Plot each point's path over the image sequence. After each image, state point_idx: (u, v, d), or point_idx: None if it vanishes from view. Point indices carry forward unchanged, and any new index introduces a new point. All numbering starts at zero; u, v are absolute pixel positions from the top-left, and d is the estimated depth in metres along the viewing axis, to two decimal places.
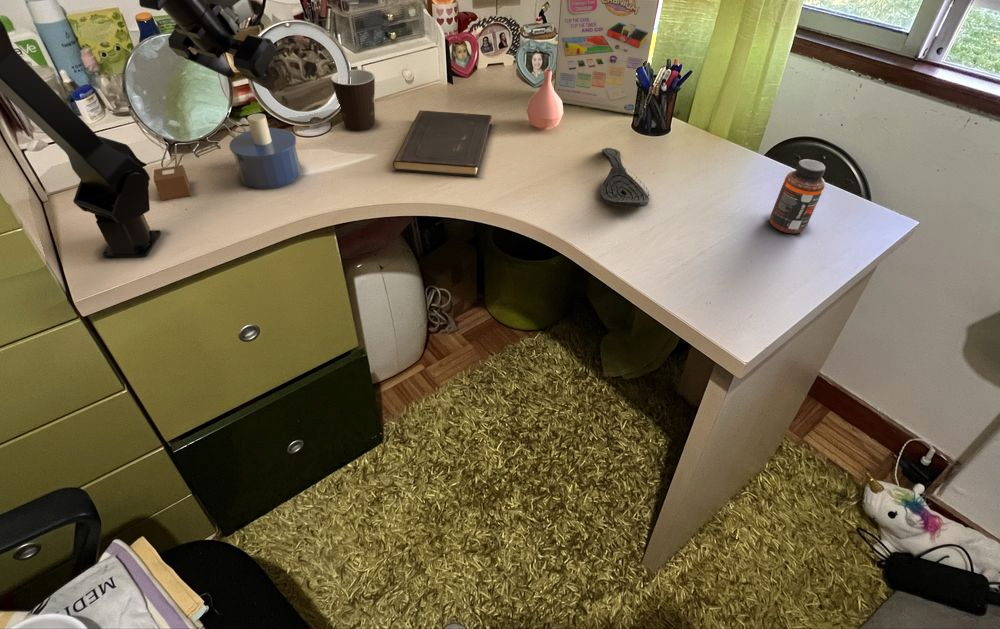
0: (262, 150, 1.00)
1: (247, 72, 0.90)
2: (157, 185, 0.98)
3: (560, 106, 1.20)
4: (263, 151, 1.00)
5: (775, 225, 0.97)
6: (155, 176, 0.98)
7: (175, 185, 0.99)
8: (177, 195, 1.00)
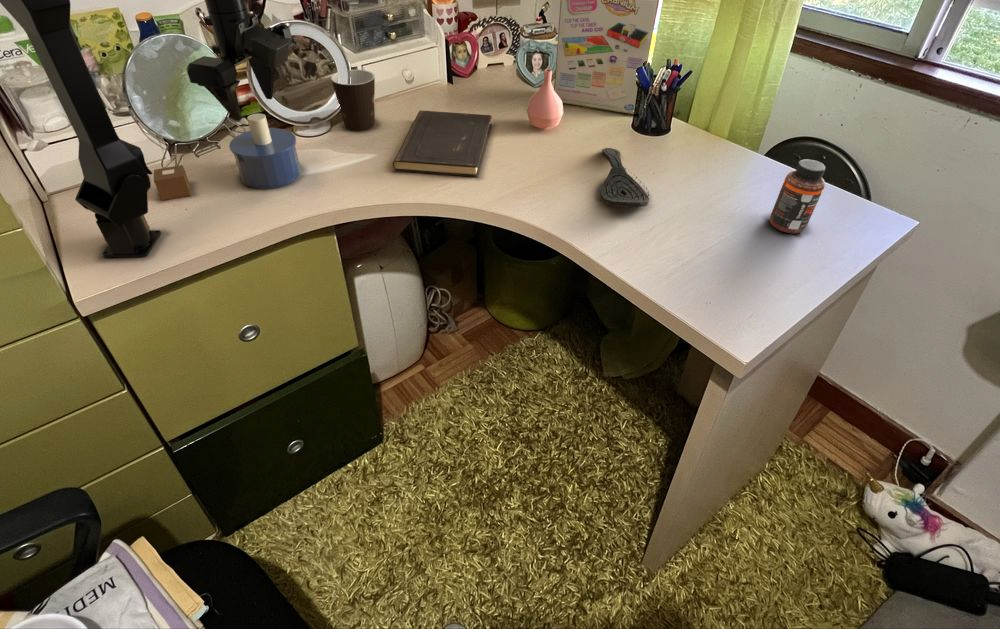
0: (262, 150, 1.00)
1: None
2: (157, 185, 0.98)
3: (560, 106, 1.20)
4: (263, 151, 1.00)
5: (775, 225, 0.97)
6: (155, 176, 0.98)
7: (175, 185, 0.99)
8: (177, 195, 1.00)
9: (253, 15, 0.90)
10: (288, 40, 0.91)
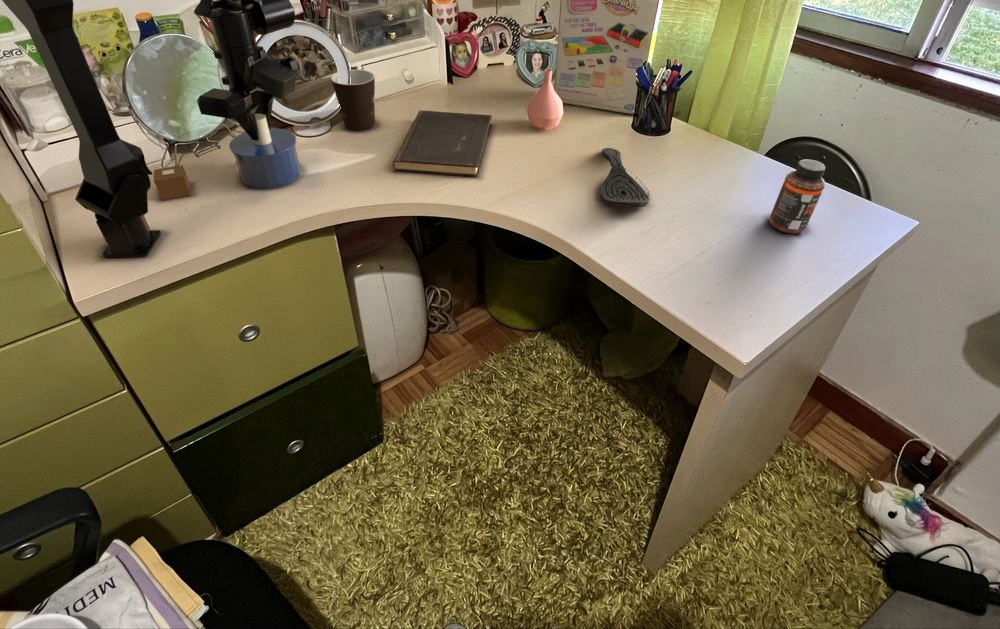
0: (262, 150, 1.00)
1: None
2: (157, 185, 0.98)
3: (560, 106, 1.20)
4: (263, 151, 1.00)
5: (775, 225, 0.97)
6: (155, 176, 0.98)
7: (175, 185, 0.99)
8: (177, 195, 1.00)
9: (261, 48, 0.93)
10: (295, 72, 0.94)
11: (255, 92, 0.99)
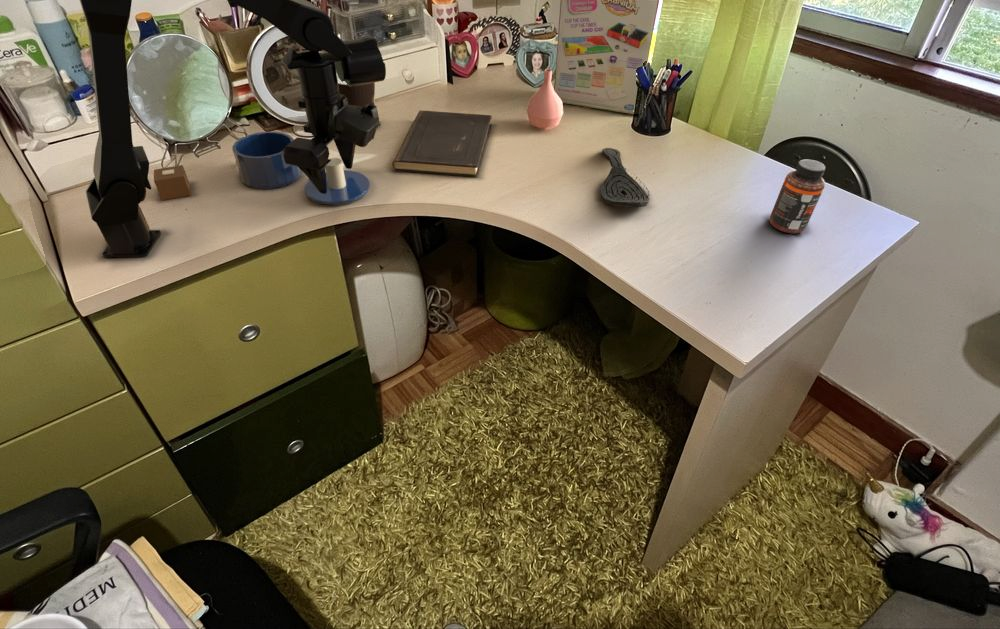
0: (338, 195, 1.00)
1: None
2: (157, 185, 0.98)
3: (560, 106, 1.20)
4: (340, 196, 1.00)
5: (775, 225, 0.97)
6: (155, 176, 0.98)
7: (175, 185, 0.99)
8: (177, 195, 1.00)
9: (344, 97, 0.93)
10: (376, 120, 0.94)
11: None
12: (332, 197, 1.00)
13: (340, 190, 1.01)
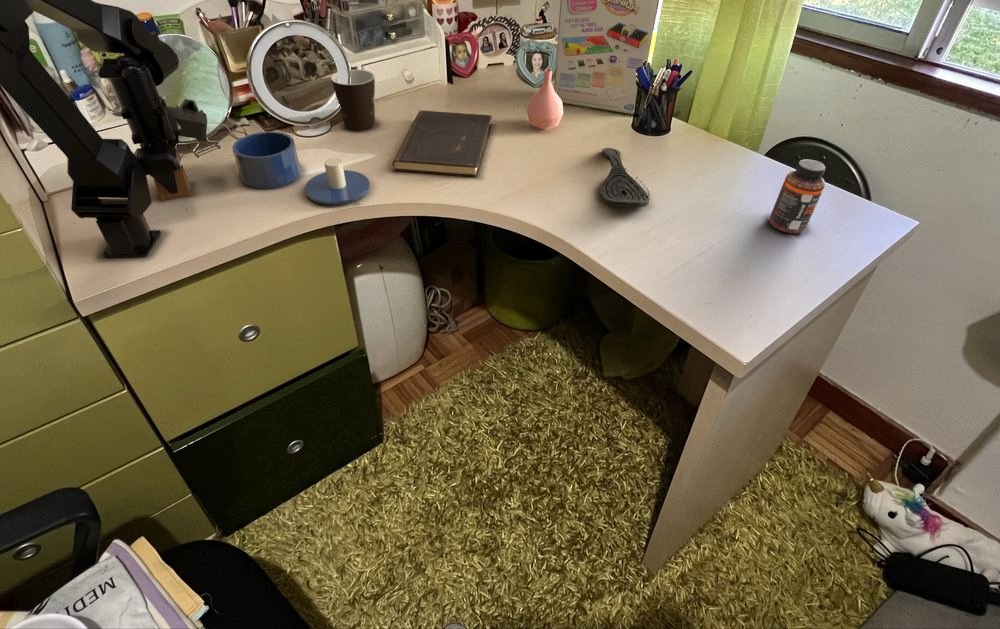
0: (338, 195, 1.00)
1: None
2: (157, 185, 0.98)
3: (560, 106, 1.20)
4: (340, 196, 1.00)
5: (775, 225, 0.97)
6: None
7: None
8: (177, 195, 1.00)
9: (161, 98, 0.93)
10: (203, 112, 0.97)
11: None
12: (332, 197, 1.00)
13: (340, 190, 1.01)
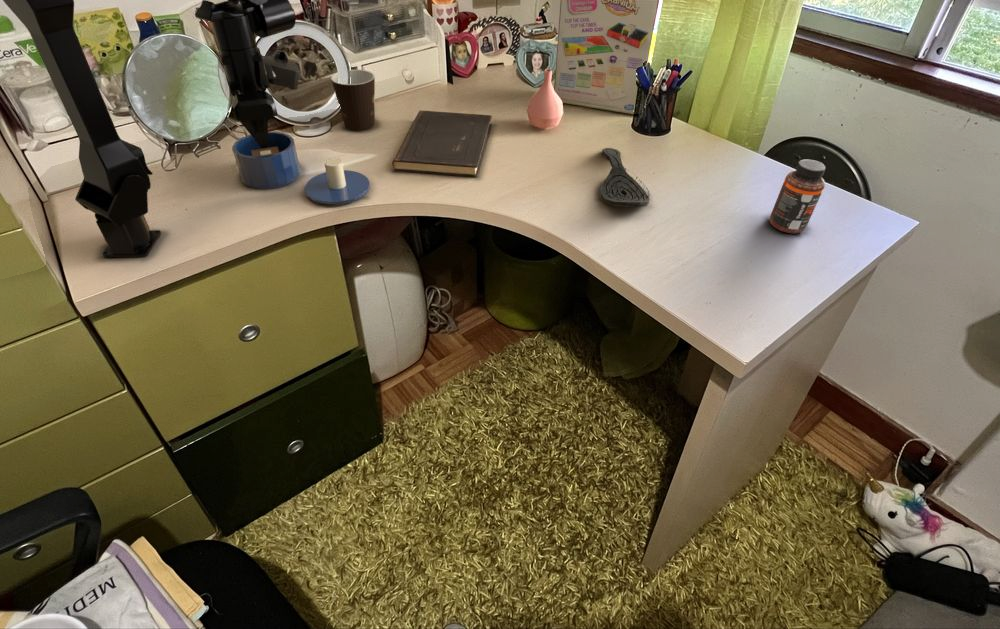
0: (338, 195, 1.00)
1: None
2: None
3: (560, 106, 1.20)
4: (340, 196, 1.00)
5: (775, 225, 0.97)
6: (254, 156, 1.03)
7: None
8: None
9: None
10: (293, 63, 0.99)
11: None
12: (332, 197, 1.00)
13: (340, 190, 1.01)
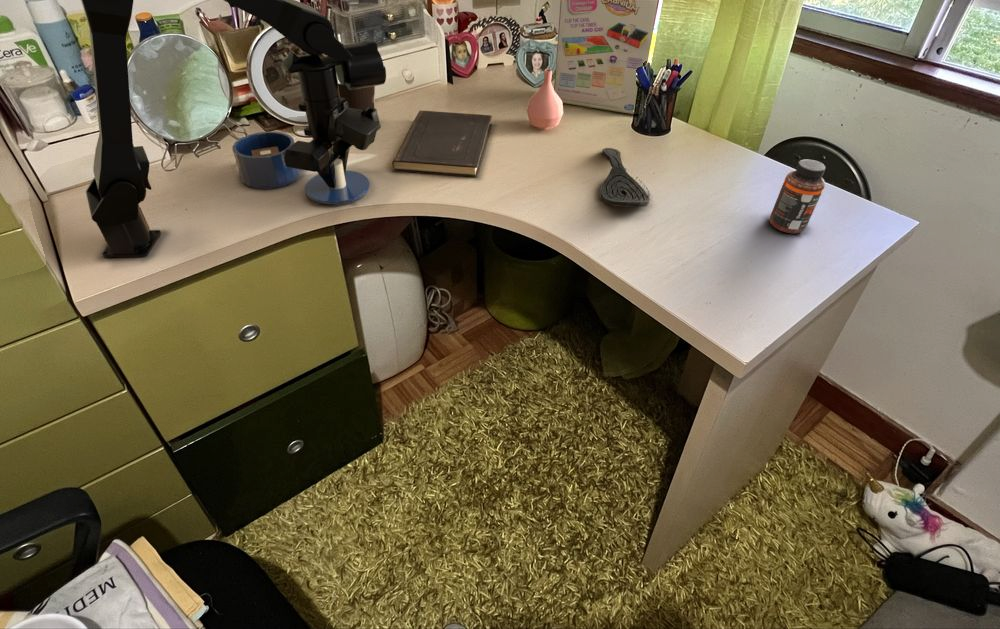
0: (338, 195, 1.00)
1: None
2: None
3: (560, 106, 1.20)
4: (340, 196, 1.00)
5: (775, 225, 0.97)
6: (254, 156, 1.03)
7: None
8: None
9: (344, 100, 0.94)
10: (376, 123, 0.95)
11: None
12: (332, 197, 1.00)
13: (340, 190, 1.01)
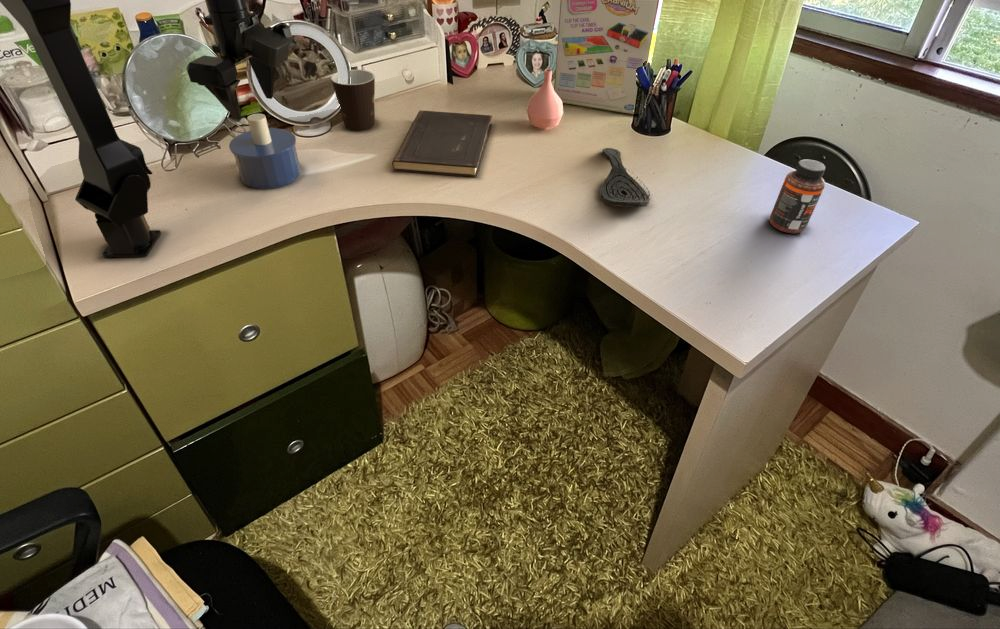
0: (262, 150, 1.00)
1: None
2: None
3: (560, 106, 1.20)
4: (263, 151, 1.00)
5: (775, 225, 0.97)
6: None
7: None
8: None
9: (253, 14, 0.90)
10: (288, 39, 0.91)
11: None
12: (255, 152, 0.99)
13: (264, 146, 1.01)
